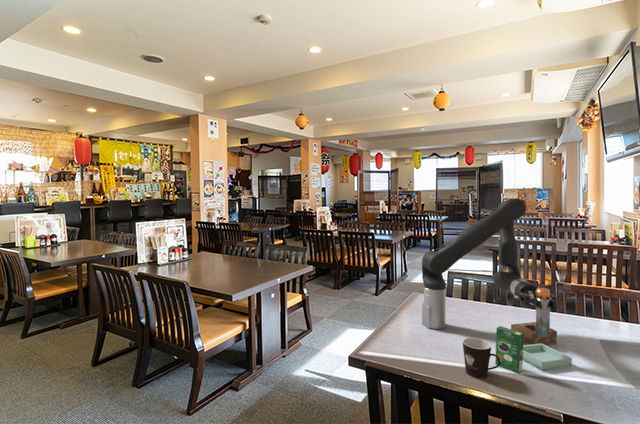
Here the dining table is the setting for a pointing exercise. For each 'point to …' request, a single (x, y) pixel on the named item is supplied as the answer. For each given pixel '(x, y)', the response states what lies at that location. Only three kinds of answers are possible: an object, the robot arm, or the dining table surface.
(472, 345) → the coffee mug
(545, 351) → the tray
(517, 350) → the coffee box
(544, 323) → the pin
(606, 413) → the dining table surface
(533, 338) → the block
